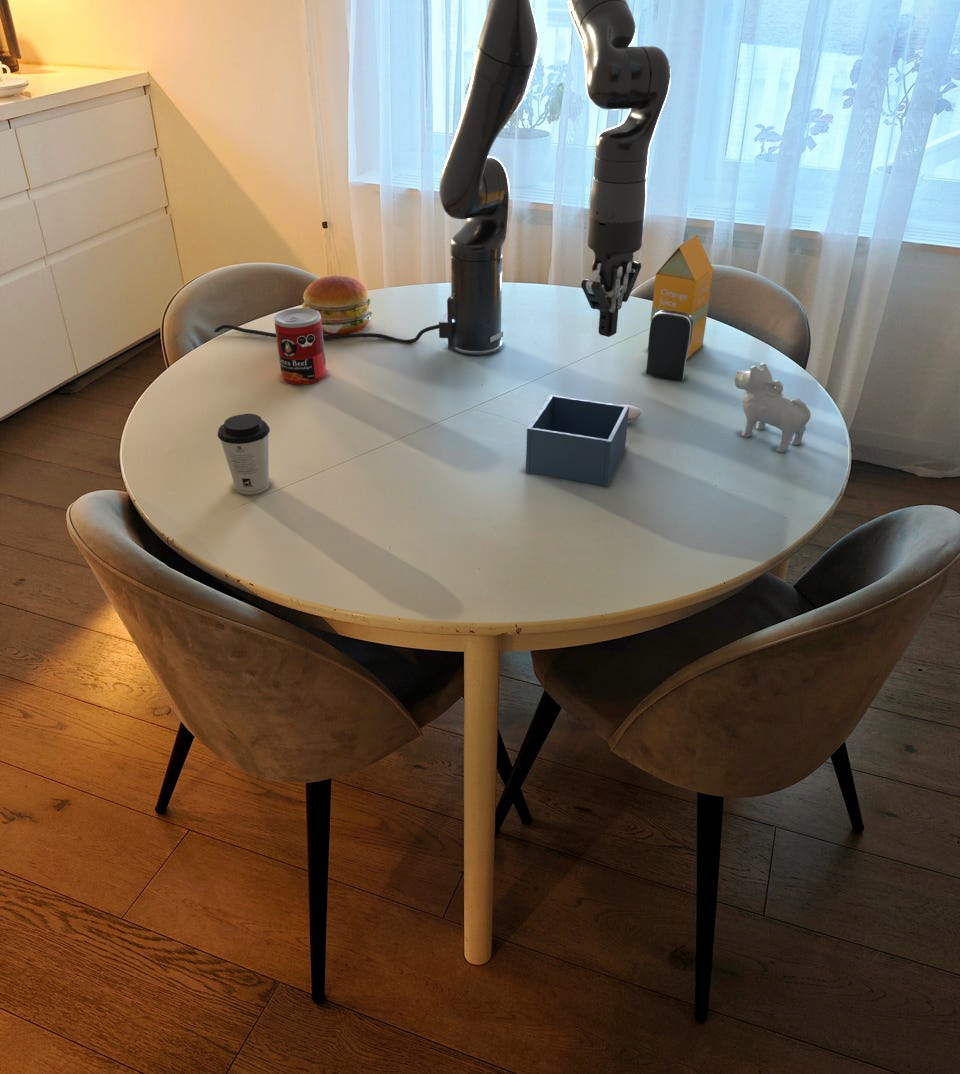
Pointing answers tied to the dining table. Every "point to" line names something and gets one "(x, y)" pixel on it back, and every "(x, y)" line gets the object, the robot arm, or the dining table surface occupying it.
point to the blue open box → (577, 439)
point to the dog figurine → (771, 406)
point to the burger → (339, 304)
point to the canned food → (300, 345)
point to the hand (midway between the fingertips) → (607, 334)
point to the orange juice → (686, 287)
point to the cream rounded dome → (633, 413)
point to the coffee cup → (246, 452)
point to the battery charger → (669, 344)
